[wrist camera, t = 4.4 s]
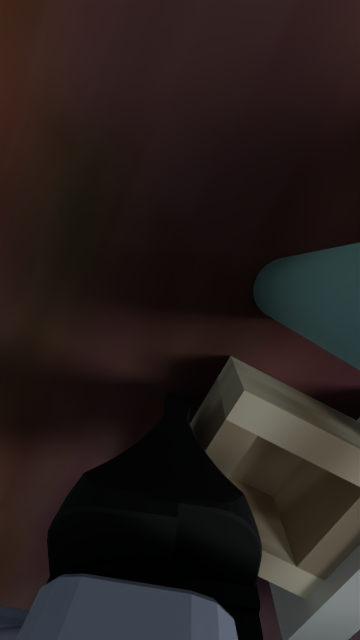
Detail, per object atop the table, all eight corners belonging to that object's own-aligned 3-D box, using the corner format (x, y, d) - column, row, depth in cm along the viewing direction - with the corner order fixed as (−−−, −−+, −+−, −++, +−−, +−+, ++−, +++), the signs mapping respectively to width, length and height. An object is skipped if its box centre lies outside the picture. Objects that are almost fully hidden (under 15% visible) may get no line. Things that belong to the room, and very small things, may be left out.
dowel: (330, 275, 10) (730, 278, 3) (294, 329, 11) (529, 464, 3) (274, 245, 10) (513, 156, 3) (241, 302, 11) (350, 371, 3)
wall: (417, 405, 11) (532, 474, 7) (287, 554, 14) (322, 662, 10) (383, 387, 11) (482, 447, 7) (259, 540, 14) (283, 644, 10)
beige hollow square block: (356, 420, 12) (421, 480, 8) (278, 516, 13) (306, 599, 10) (230, 355, 12) (244, 390, 8) (167, 461, 13) (156, 526, 10)
